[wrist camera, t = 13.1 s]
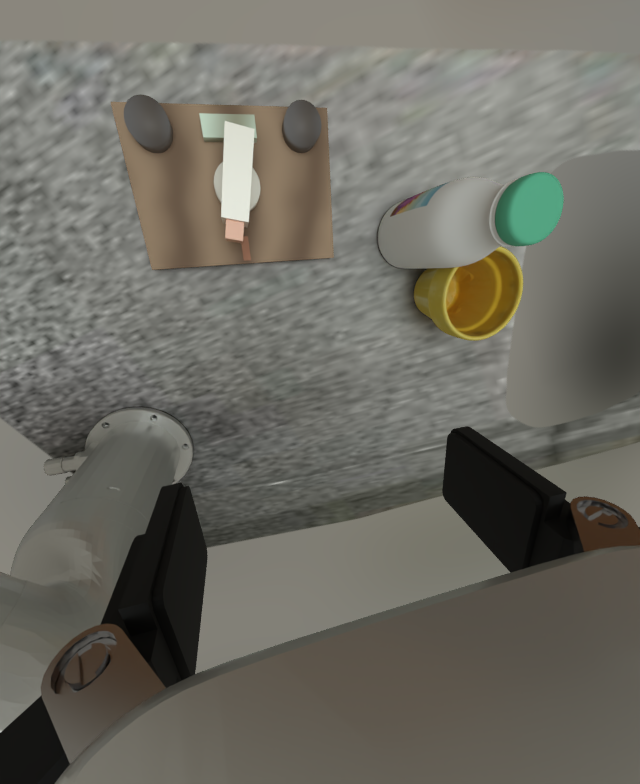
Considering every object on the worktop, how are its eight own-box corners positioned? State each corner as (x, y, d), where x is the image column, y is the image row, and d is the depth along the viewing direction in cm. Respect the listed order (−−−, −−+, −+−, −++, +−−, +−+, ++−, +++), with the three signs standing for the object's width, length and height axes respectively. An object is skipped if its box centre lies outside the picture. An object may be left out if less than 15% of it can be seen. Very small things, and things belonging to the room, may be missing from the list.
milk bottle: (423, 272, 43) (559, 275, 24) (370, 263, 41) (476, 259, 22) (438, 208, 40) (602, 157, 22) (382, 195, 38) (513, 127, 20)
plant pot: (463, 238, 42) (522, 229, 33) (472, 312, 46) (527, 322, 38) (393, 265, 41) (435, 264, 32) (409, 338, 46) (450, 355, 37)
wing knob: (216, 144, 31) (211, 117, 25) (262, 155, 32) (266, 132, 27) (213, 240, 34) (208, 234, 28) (255, 247, 35) (258, 243, 29)
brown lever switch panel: (156, 269, 35) (147, 269, 32) (118, 112, 30) (101, 90, 26) (329, 258, 39) (338, 256, 35) (322, 116, 34) (332, 98, 30)
